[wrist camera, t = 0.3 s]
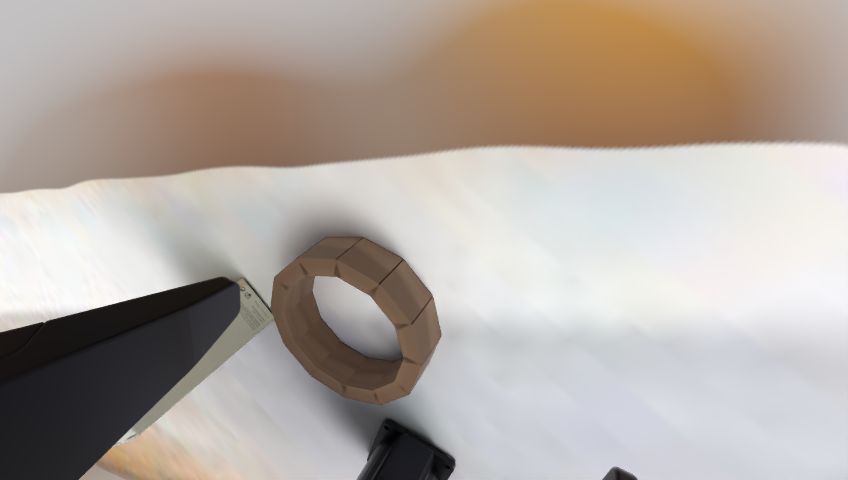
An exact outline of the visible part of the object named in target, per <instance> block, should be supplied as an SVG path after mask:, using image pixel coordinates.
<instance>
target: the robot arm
mask: <svg viewBox="0 0 848 480" xmlns="http://www.w3.org/2000/svg"><path fill="white" fill-rule="evenodd" d="M240 308H241V297H240V285H239V283H238V282H236V281H234V280H232V279H230V278H228V277H218V278H214V279H210V280H206V281H202V282H198V283H194V284H190V285H186V286H182V287H178V288H174V289H170V290H167V291H163V292H159V293H155V294H151V295H147V296H143V297H139V298H135V299H131V300H127V301H123V302H119V303H116V304H112V305H108V306H104V307H100V308H96V309H92V310H88V311H84V312H80V313H76V314H72V315H68V316H64V317H61V318H57V319H53V320H49V321H46V322H45V323H44V322H41V323H37V324H33V325H29V326H25V327H21V328H17V329H13V330H8V331H4V332H0V480H79V479H80V478H81V477H82V476H83V475H84V474H85V473H86V472H87V471H88V470H89V469H90V468H91V467H92V466H93V465H94V464H95V463H96V462H97V461H98V460H99V459H100V458H101V457H102V456H103V455H104V454H105V453H106V452H107V451H108V450H109V449H111V448H112V447H113V446H114V445H115V444H116V443H117V442H118V441H119V440H120V439H121V438H122V437H123V436H124V435H125V434H126V433H127V432H128V431H129V430H130V429H131V428H132V427H133V426H134V425H135V424H136V423H137V422H138V421H139V420H140V419H141V418H142V417H143V416H144V415H145V414H146V413H147V412H149V411H150V410H151V409H152V408H153V407H154V406H155V405H156V404H157V403H158V402H159V401H160V400H161V399H162V398H163V397H164V396H165V395H166V394H167V393H168V392H169V391H170V390H171V389H172V388H173V387H174V386H175V385H176V384H177V383H178V382H179V381H180V380H181V379H182V378H183V377H184V376H186V375H187V374H188V373H189V372H190V371H191V370H192V368H193V367H194V366H195V365H196V364H197V363H198V362H199V361H200V360H201V359H202V358H203V356H204V355H205V354H206V353H207V352H208V350H209V349H210V348H211V347H212V346H213V345H214V343H215V342H216V341H217V340H218V339H219V337H220V336H221V335H222V334H223V333H224V332H225V330H226V329H227V328H228V327H229V326H230V324H231V323H232V322H233V321H234V320H235V318H236V317H237V316H238V314H239V312H240ZM367 461H368V462H367V464H366V465H365V467H364V469H363V470H362V472H361V473H360V475H359V477H358V478H357V480H448V478H449V477H450V475H451V473H452V472H453V470H454V468H455V462H454V461H453V460H452V459H450V458H449V457H447V456H445V455H444V454H442V453H441V452H439V451H438V450H436V449H434V448H433V447H431V446H430V445H428V444H427V443H425V442H423V441H422V440H420V439H419V438H417V437H416V436H414V435H412V434H411V433H409V432H408V431H406V430H405V429H403V428H401V427H400V426H398V425H397V424H395V423H394V422H392V421H390V420H388V419H385V420H384V421H383V423H382V424H381V427H380V429H379V432H378V434H377V437H376V439H375V441H374V444H373V446H372V449H371V451H370V454H369V456H368V459H367ZM602 480H638V479H637V478H636V477H635V476H634V475H633V474H631V473H629V472H627V471H625V470H623V469H621V468H619V467H613V468H612V469H611V470H610V471H609V472H608V473H607V475H606V476H605V477H604V478H603V479H602Z"/></svg>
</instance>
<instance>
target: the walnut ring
mask: <svg viewBox="0 0 848 480" xmlns="http://www.w3.org/2000/svg"><path fill="white" fill-rule="evenodd" d="M402 260H403V259H402V258H400V257H399V256H397V255H395V254H393V253H391V252H389V251H387V250H386V249H384V248H382V247H380V246H378V245H376V244H375V243H373V242H371V241H369V240H367V239H365V238H363V237H326V238H324V239H323V240H322V241H320V242H319V243H317V244H316V245H315V246H313V247H312V248H310V249H309V250H308V251H306V252H305V253H303V254H302V255H301V256H299V257H298V258H296V259H295V260H294V261H293V262H292V263H291V264H289V265H288V266H287V267H286V268H285V269H283V270H282V271H281V272H280V273H279V274H277V275H276V276H275V278H274V282H273V291H272V299H271V308H270V309H271V312H272V314H273V317H274V320H275V322H276V325H277V327H278V330H279V332H280V335H281V338H282V340H283V343H284V344H285V346H286V347H287V348H288V349H289V351H290V352H291V353H292V354H293V355H294V357H295V358H296V359H297V360H298V361H299V362H300V364H301V365H302V366H303V367H304V368H305V370H306V371H307V372H308V373H309V374H310V375H311V376H312V377H314V378H315V379H317V380H318V381H320V382H321V383H323V384H324V385H326V386H328V387H329V388H331V389H332V390H334V391H335V392H337V393H339V394H340V395H342V396H343V397H345V398H349V399H354V400H359V401H363V402H368V403H373V404H378V405H380V404H381V405H382V404H385V403H388V402H390V401H393V400H396V399H399V398H401V397H404V396H407V395H409V394H410V393H411V391H412V389H413V388H414V386H415V385H416V383H417V381H418V380H419V378H420V377H421V375H422V373H423V372H424V370H425V369H426V367H427V365H428V364H429V362H430V360H431V357H432V355H433V353H434V351H435V349H436V346H437V344H438V342H439V340H440V338H441V331H440V327H439V322H438V317H437V313H436V308H435V304H434V299H433V297H432V295H431V293H430V292H429V291H428V290H427V288H426V287H425V286H424V284H423V283H422V282H421V281H420V279H419V278H418V277H417V276H416V274H415V273H414V272H413V271H412V269H411V268H410V267H409V265H408V264H407V263H406V262H405V260H403V261H402ZM315 276H330V277H338V278H340V279H342V280H343V281H345V282H347V283H349V284H350V285H352V286H354V287H356V288H357V289H359V290H361V291H363V292H364V293H366V294H368V295H370V296H371V297H372V299H373V300H374V301H375V302H376V304H377V305H378V306H379V307H380V308H381V310H382V311H383V312H384V313H385V315H386V316H387V317H388V318H389V320H390V321H391V322H392V323H393V325H394V326H395V328H396V331H397V335H398V339H399V343H400V346H401V350H402V354H403V358H401V359H398V360H396V361H394V362H392V361H386V360H379V359H373V358H367V357H365V356H363V355H362V354H360V353H358V352H357V351H355V350H353V349H352V348H350V347H349V346H347V345H345V344H344V343H342V342H341V341H340V340H339V339H338V338H337V337H336V335H335V334H334V333H333V332H332V331H331V329H330V328H329V327H328V326H327V325H326V323H325V322H324V321H323V320H322V319H321V316H320V313H319V310H318V308H317V305H316V302H315V299H314V296H313V293H312V289H313V283H314V278H315Z"/></svg>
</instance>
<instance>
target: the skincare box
mask: <svg viewBox="0 0 848 480" xmlns="http://www.w3.org/2000/svg"><path fill="white" fill-rule="evenodd" d="M237 282H238V283H239V285H240V297H241V308H240V312H239V314H238V316H237V317H236V318H235V320H234V321H233V322H232V323H231V324H230V326H229V327H228V328H227V329H226V330H225V332H224V333H223V334H222V335H221V336H220V337H219V339H218V340H217V341H216V342H215V343H214V345H213V346H212V347H211V348H210V349H209V350H208V352H207V353H206V354H205V355H204V356H203V358H202V359H201V360H200V361H199V362H198V363H197V364H196V365H195V366H194V367H193V368H192V370H191V371H190V372H189V373H188V374H187V375H186V376H184V377H183V378H182V379H181V380H180V381H179V382H178V383H177V384H176V385H175V386H174V387H173V388H172V389H171V390H170V391H169V392H168V393H167V394H166V395H165V396H164V397H163V398H162V399H161V400H160V401H159V402H158V403H157V404H156V405H155V406H154V407H153V408H152V409H151V410H150V411H149V412H147V413H146V414H145V415H144V416H143V417H142V418H141V419H140V420H139V421H138V422H137V423H136V424H135V425H134V426H133V427H132V428H131V429H130V430H129V431H128V432H127V433H126V434H125V435H124V436H123V437H122V438H121V439H120V440H119V441H118V442H117V443H116V444H115V445H114V446H117V445H119V444H122V443H125V442H127V441H129V440H131V439H133V438H135V437H137V436H139V435H140V434H141V433H142V432H144V431H145V430H146V429H147V428H148V427H149V426H151V425H152V424H153V423H154V422H155V421H156V420H158V419H159V418H160V417H161V416H162V415H163V414H165V413H166V412H167V411H168V410H169V409H171V408H172V407H173V406H174V405H175V404H176V403H177V402H179V401H180V400H181V399H182V398H183V397H184V396H186V395H187V394H188V393H189V392H190V391H191V390H193V389H194V388H195V387H196V386H197V385H198V384H200V383H201V382H202V381H203V380H204V379H205V378H207V377H208V376H209V375H210V374H211V373H212V372H213V371H215V370H216V369H217V368H218V367H219V366H220V365H222V364H223V363H224V362H225V361H226V360H228V359H229V358H230V357H231V356H232V355H233V354H235V353H236V352H237V351H238V350H239V349H240V348H242V347H243V346H244V345H245V344H246V343H247V342H248V341H250V340H251V339H252V338H253V337H254V336H255V335H257V334H258V333H259V332H260V331H261V330H262V329H264V328H265V327H266V326H267V325H268V324H269V323H271V322H272V321H273V320H274V317H273V315H272V314H271V312H270V311H269V310H268V309H267V307H266V306H265V305H264V304H263V302H262V301H261V300H260V299H259V297H258V296H257V295H256V294H255V292H254V291H253V290H252V289H251V287H250V286H249V285H248V284H247V283H246V281H245V280H244V279H240V280H238V281H237ZM114 446H113V447H114Z"/></svg>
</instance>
